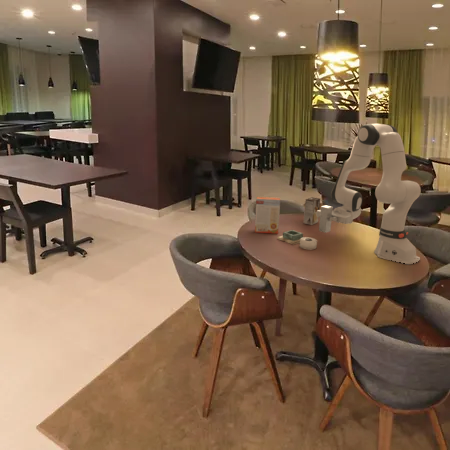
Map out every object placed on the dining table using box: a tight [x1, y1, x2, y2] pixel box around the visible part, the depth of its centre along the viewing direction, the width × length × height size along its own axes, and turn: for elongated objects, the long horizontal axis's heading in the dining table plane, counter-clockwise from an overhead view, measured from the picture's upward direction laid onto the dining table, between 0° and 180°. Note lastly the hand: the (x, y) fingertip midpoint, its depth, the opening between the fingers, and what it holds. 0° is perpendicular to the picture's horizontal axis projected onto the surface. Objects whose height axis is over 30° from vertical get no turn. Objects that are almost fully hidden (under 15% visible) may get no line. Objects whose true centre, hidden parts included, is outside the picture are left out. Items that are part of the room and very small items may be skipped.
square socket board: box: [277, 229, 304, 246], centre depth 241 cm, size 12×12×4 cm
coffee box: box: [303, 196, 321, 226], centre depth 275 cm, size 9×6×16 cm
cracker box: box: [254, 196, 281, 235], centre depth 251 cm, size 14×6×21 cm, turn 84°
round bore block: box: [299, 236, 318, 251], centre depth 230 cm, size 9×9×4 cm
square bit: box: [318, 205, 334, 234], centre depth 235 cm, size 4×4×14 cm
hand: (324, 218), depth 234 cm, fingers closed on square bit, 4 cm apart
